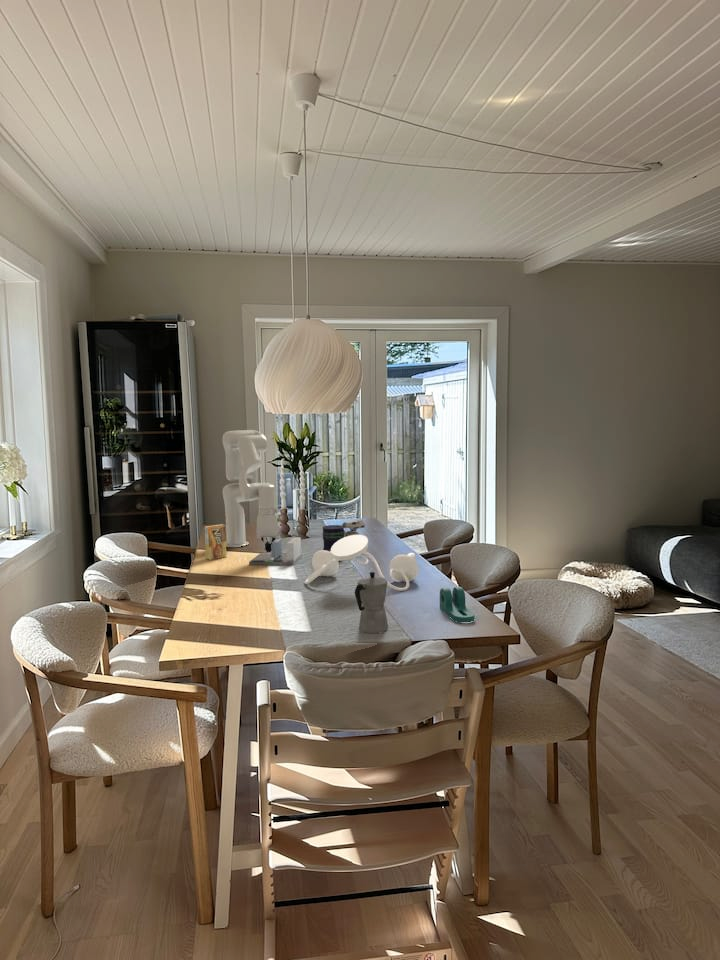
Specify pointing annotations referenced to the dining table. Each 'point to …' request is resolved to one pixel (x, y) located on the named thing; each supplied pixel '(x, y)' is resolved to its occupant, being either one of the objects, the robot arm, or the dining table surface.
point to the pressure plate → (276, 549)
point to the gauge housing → (284, 558)
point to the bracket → (455, 604)
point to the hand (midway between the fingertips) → (268, 551)
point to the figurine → (353, 527)
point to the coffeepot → (372, 604)
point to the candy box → (215, 541)
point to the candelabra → (354, 546)
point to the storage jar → (332, 535)
